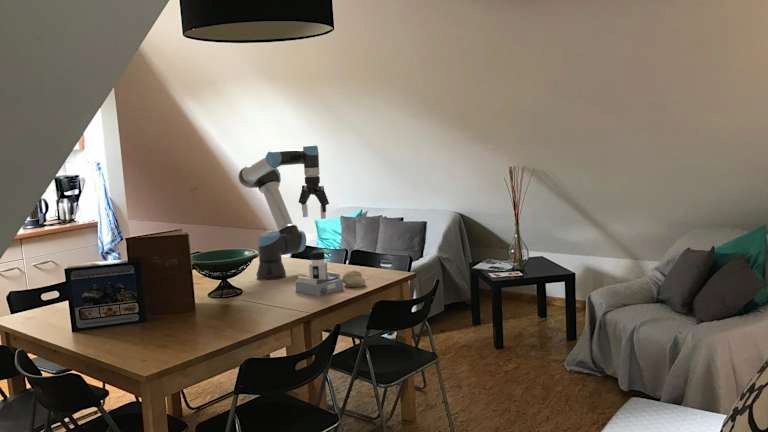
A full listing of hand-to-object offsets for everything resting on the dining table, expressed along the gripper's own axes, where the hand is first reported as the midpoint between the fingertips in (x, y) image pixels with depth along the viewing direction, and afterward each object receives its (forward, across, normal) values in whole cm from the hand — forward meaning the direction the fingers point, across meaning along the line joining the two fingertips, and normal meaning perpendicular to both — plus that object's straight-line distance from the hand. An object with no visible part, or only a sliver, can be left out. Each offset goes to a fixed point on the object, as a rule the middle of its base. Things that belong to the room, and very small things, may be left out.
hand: (314, 217), depth 342 cm
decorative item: (+32, +26, 0) cm, 42 cm away
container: (+26, +19, -16) cm, 36 cm away
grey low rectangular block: (+32, +19, -16) cm, 40 cm away
